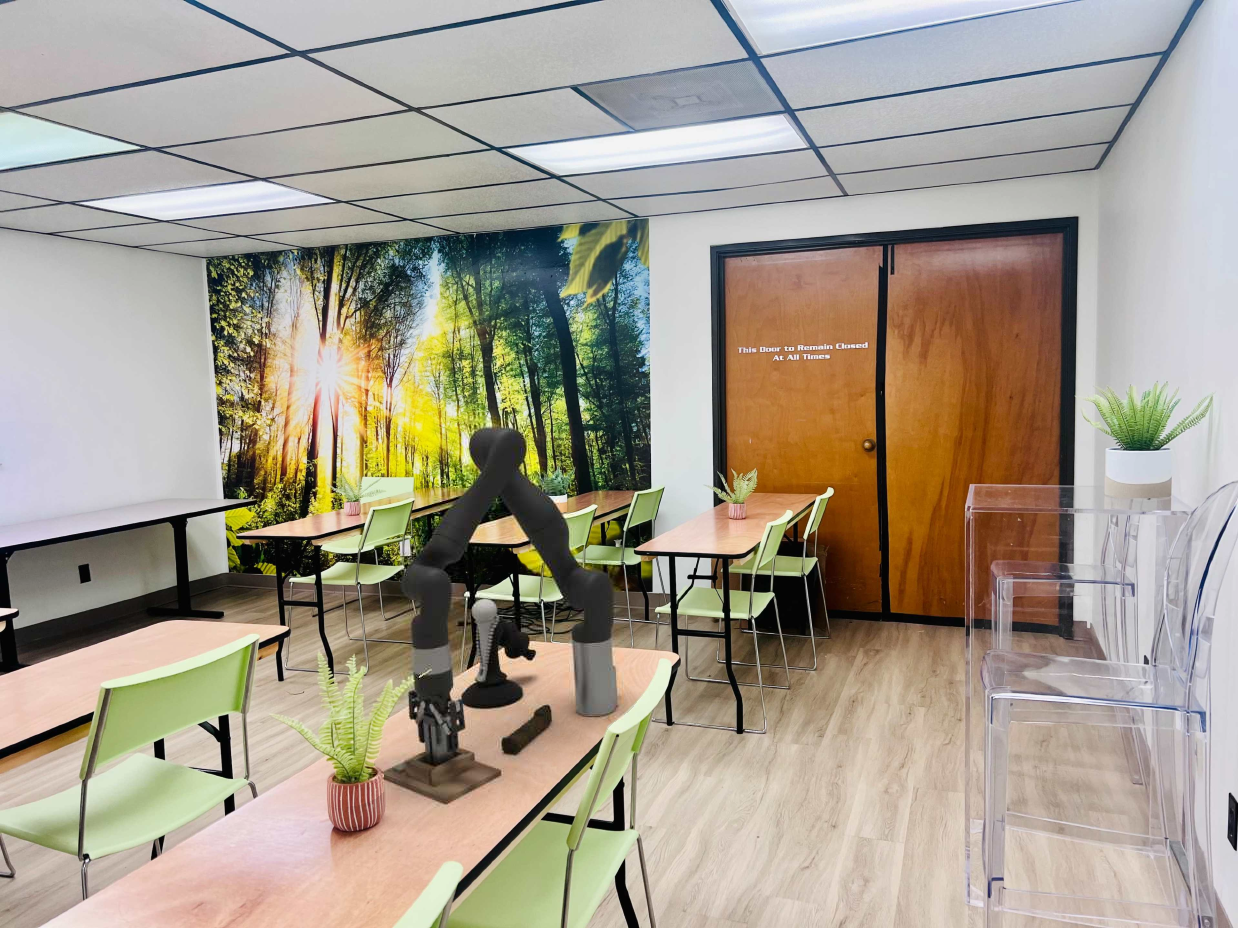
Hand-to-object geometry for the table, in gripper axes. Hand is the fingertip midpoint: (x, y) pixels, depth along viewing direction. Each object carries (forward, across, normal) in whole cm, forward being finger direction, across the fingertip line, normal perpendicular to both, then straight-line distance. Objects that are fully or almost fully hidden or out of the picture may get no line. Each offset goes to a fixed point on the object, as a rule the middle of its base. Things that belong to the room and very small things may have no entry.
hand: (438, 745), depth 169 cm
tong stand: (+6, 0, 0) cm, 6 cm away
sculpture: (+6, +24, -40) cm, 47 cm away
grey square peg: (+5, 0, 0) cm, 5 cm away
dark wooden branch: (+7, -1, -23) cm, 24 cm away
